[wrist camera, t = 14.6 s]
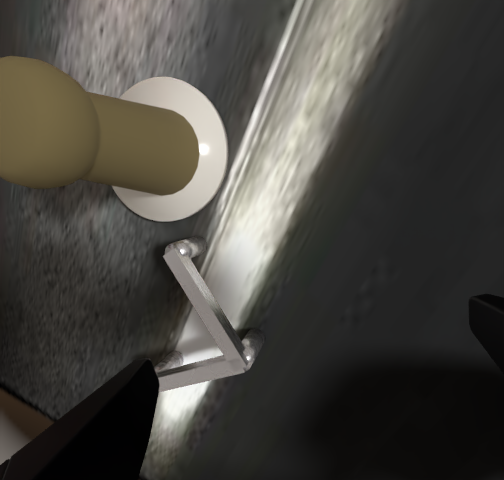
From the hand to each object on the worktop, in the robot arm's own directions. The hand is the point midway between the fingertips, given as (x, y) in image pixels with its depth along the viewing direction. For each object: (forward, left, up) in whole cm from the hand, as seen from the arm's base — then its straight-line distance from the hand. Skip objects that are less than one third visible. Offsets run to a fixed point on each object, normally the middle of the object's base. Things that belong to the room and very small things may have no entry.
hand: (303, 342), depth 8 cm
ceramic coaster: (+13, -4, -12) cm, 18 cm away
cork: (+13, -4, -12) cm, 18 cm away
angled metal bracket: (+6, +7, -12) cm, 15 cm away
